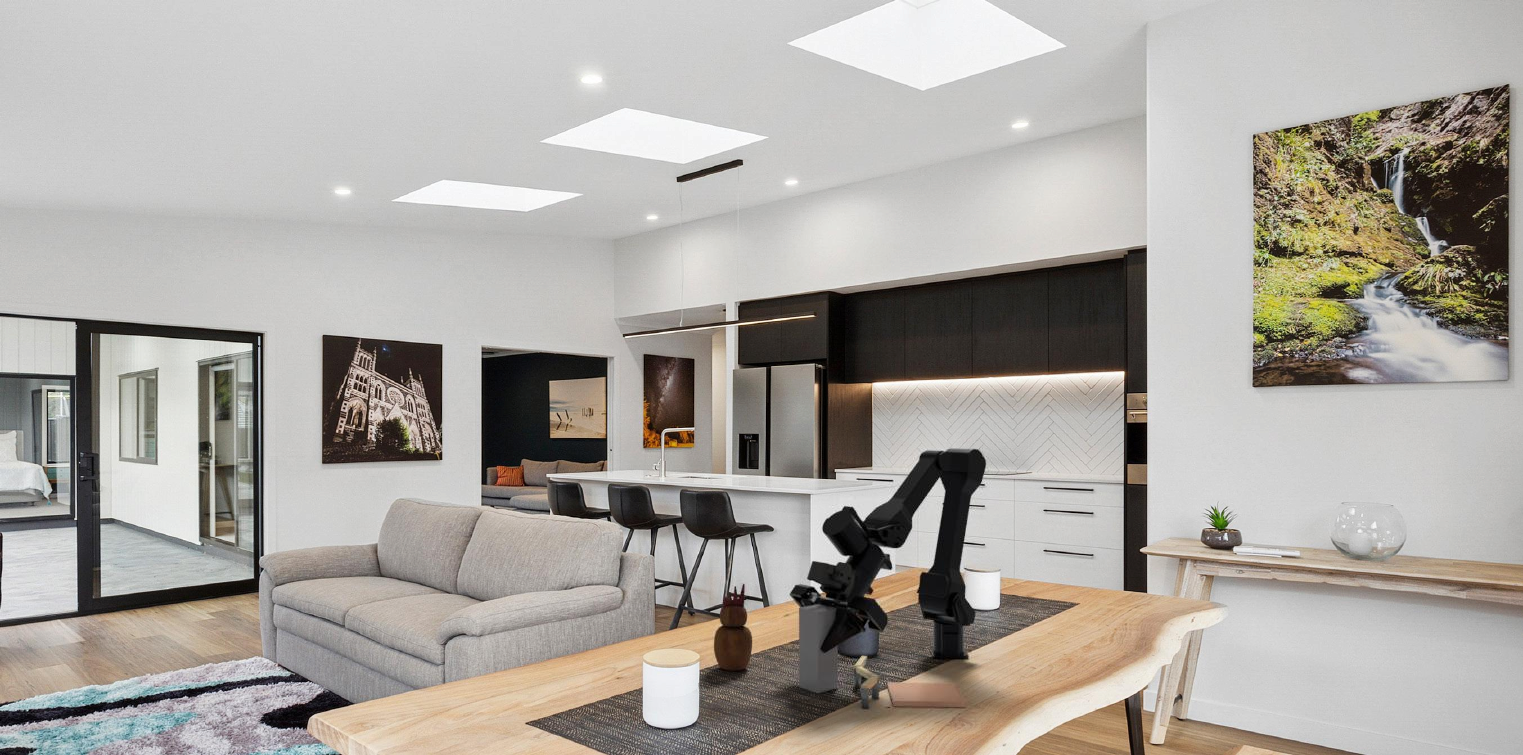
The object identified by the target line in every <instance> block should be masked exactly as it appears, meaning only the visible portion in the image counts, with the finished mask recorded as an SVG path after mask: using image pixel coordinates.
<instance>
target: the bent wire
mask: <svg viewBox="0 0 1523 755" xmlns="http://www.w3.org/2000/svg"><path fill="white" fill-rule="evenodd" d="M868 664H869V663H868V655H861V656H860V657H859V659H858V661H857V662H856V663H855V664H854V665H853V688H855V689H860V708H861V709H862V710H863V709H865V710H867V709H870V708H869V706H870V705H869V703H870V700H869V699H870V698H869V695H870V694H871V699H872V700H878V699H880V676H879V675H877V674H876V673H874V672H872V671H870V670H869V669H868ZM862 678H864V679H867V680H865V681H864V682H863V683H862ZM869 690H871V693H870V694H869V692H870V691H869Z"/></svg>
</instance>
